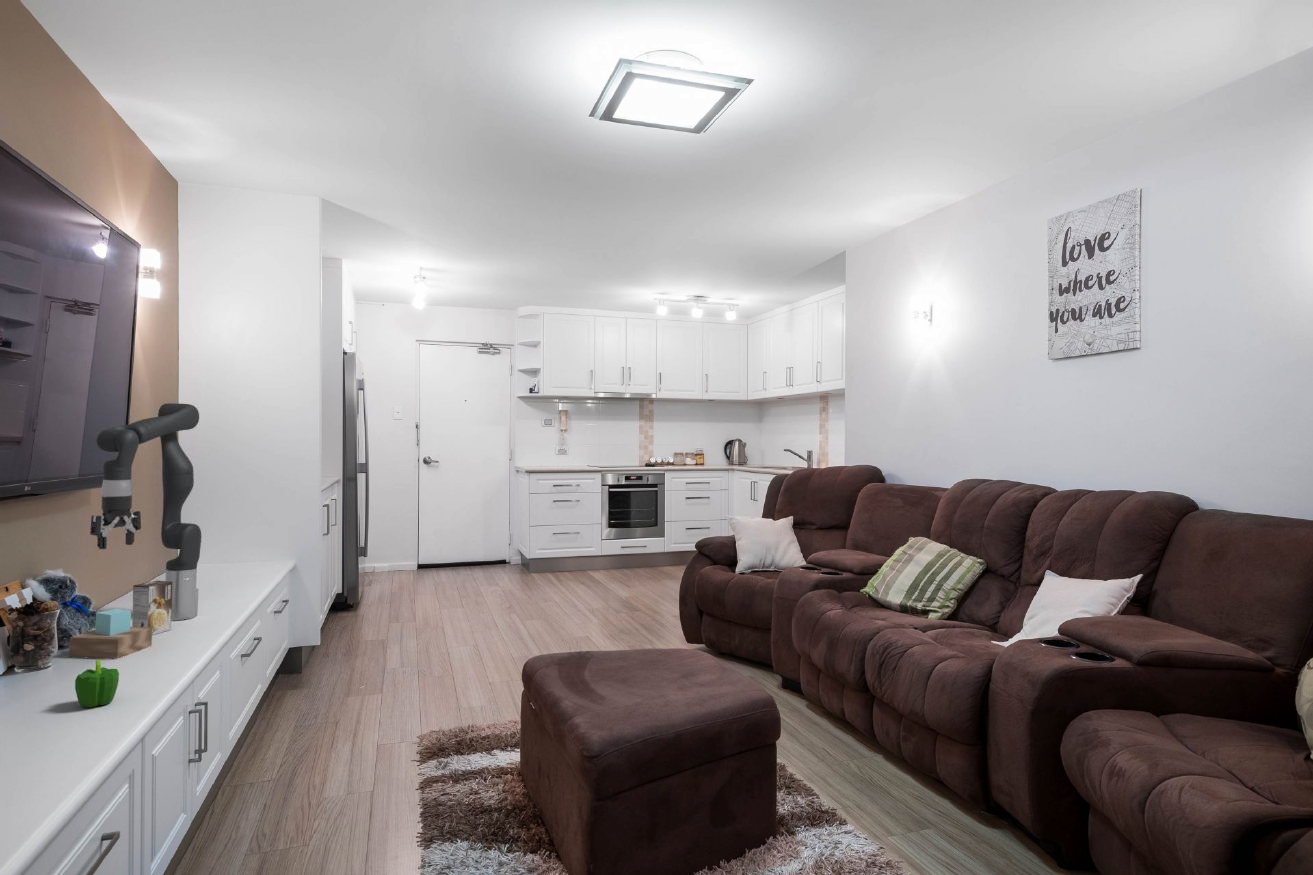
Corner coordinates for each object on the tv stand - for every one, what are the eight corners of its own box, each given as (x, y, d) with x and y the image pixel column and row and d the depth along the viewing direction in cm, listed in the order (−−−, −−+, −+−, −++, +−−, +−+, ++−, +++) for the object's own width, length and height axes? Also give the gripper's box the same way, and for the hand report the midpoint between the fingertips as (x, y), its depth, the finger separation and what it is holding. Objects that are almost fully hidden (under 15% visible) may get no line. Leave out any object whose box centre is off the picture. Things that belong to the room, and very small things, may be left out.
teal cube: (115, 628, 223) (116, 608, 223) (130, 630, 221) (131, 610, 221) (94, 633, 217) (95, 612, 217) (109, 635, 215) (110, 614, 216)
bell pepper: (109, 709, 174) (111, 666, 174) (68, 711, 172) (70, 668, 172) (124, 697, 182) (125, 656, 182) (84, 699, 180) (86, 658, 180)
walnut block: (105, 645, 226) (106, 625, 226) (151, 647, 226) (152, 627, 226) (68, 658, 212) (69, 637, 212) (117, 660, 212) (118, 639, 212)
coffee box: (155, 628, 246) (157, 579, 246) (171, 629, 245) (173, 581, 245) (130, 635, 237) (132, 584, 237) (147, 636, 236) (149, 586, 236)
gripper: (129, 491, 235) (128, 542, 236) (84, 495, 222) (83, 549, 222) (148, 492, 233) (147, 544, 234) (103, 496, 220) (102, 551, 220)
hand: (116, 546), depth 228 cm, fingers open, 8 cm apart
